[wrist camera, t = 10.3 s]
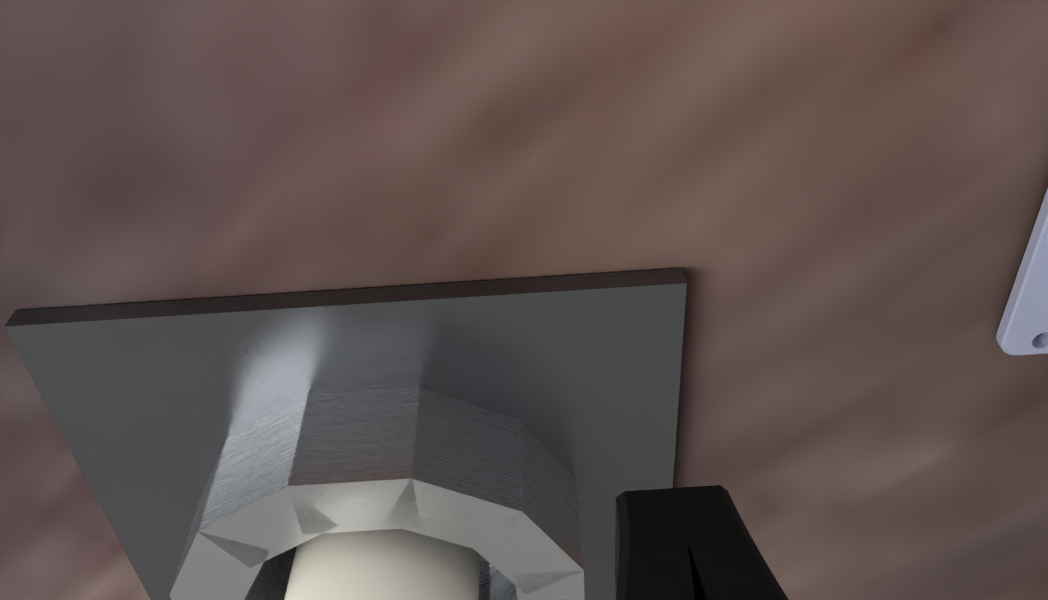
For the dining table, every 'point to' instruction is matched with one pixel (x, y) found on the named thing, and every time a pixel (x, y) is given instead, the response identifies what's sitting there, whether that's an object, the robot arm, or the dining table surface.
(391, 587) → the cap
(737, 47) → the dining table surface
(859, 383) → the dining table surface
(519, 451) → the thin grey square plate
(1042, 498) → the dining table surface
